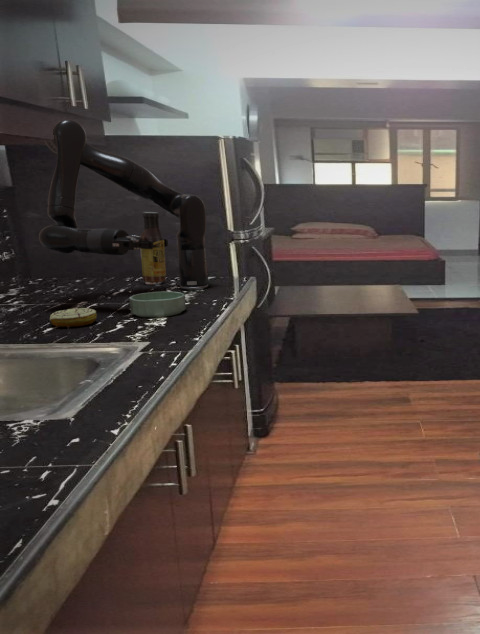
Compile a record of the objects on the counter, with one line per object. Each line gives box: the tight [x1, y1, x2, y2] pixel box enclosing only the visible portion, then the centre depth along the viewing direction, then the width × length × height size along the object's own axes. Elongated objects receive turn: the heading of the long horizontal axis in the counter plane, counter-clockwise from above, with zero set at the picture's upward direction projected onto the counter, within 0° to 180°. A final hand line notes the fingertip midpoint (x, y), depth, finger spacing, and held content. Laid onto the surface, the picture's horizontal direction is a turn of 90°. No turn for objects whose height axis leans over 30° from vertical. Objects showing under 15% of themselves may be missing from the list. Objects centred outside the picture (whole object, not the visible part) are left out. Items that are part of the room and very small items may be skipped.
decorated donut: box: [49, 307, 98, 328], centre depth 161 cm, size 10×11×4 cm
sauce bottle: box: [140, 211, 167, 283], centre depth 172 cm, size 6×6×20 cm
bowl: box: [129, 291, 187, 318], centre depth 176 cm, size 15×15×5 cm
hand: (159, 243), depth 171 cm, fingers closed on sauce bottle, 6 cm apart
